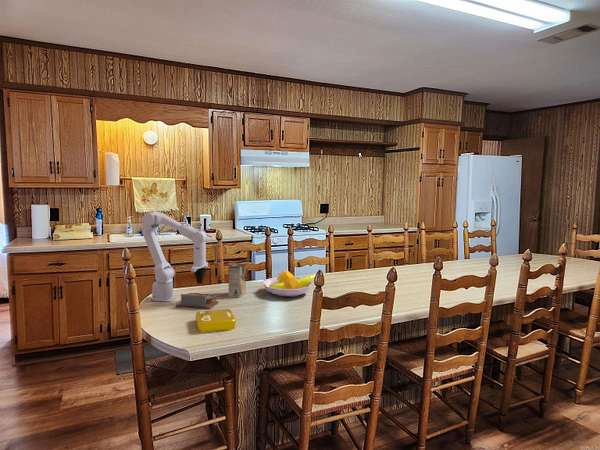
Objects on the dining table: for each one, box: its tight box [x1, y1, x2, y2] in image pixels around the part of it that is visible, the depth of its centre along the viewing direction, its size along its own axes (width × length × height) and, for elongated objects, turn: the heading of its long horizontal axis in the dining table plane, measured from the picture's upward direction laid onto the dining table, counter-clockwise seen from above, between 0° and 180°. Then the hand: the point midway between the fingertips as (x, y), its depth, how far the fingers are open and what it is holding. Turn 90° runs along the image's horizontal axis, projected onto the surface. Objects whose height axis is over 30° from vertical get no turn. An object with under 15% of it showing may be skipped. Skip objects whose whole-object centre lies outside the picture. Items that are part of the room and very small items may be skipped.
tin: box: [187, 292, 215, 304], centre depth 194 cm, size 15×3×8 cm
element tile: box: [195, 308, 236, 333], centre depth 166 cm, size 15×15×5 cm
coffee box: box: [228, 262, 247, 299], centre depth 208 cm, size 9×6×16 cm
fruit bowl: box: [262, 270, 316, 297], centre depth 213 cm, size 28×27×11 cm
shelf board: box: [175, 300, 219, 311], centre depth 191 cm, size 17×10×1 cm, turn 80°
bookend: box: [180, 293, 206, 310], centre depth 187 cm, size 12×1×6 cm, turn 80°
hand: (199, 283), depth 195 cm, fingers closed
